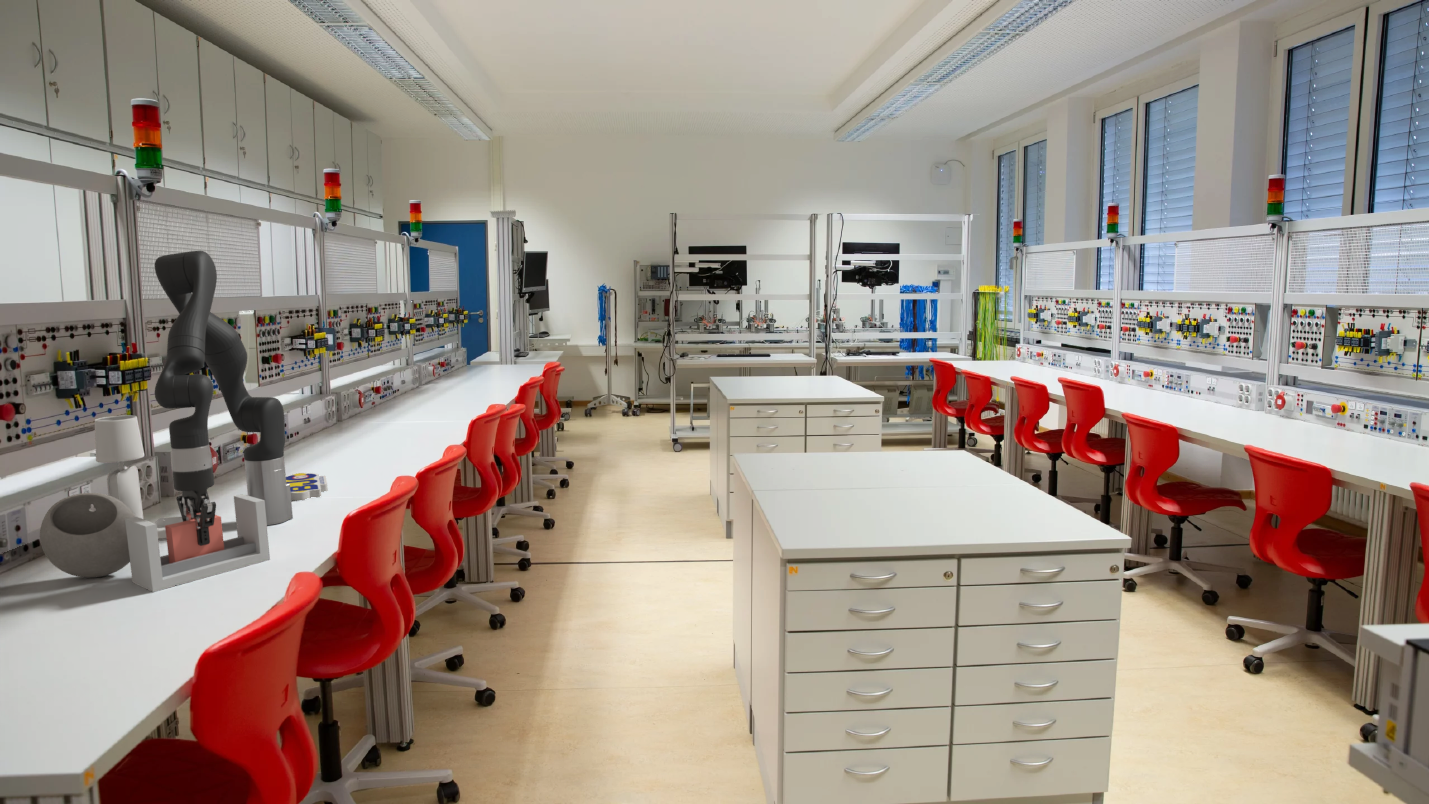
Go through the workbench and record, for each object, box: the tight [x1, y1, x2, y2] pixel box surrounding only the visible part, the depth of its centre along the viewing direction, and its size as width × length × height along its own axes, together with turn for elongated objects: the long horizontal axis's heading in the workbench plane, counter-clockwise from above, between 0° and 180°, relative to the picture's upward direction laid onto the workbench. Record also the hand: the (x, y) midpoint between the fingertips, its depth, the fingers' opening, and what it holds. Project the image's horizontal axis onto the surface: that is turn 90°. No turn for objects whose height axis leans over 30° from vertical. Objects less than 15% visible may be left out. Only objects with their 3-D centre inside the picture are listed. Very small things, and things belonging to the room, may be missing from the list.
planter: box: [39, 492, 136, 579], centre depth 180 cm, size 18×7×19 cm, turn 105°
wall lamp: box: [94, 414, 183, 540], centre depth 210 cm, size 10×21×30 cm, turn 101°
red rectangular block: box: [165, 514, 224, 564], centre depth 183 cm, size 10×3×9 cm, turn 145°
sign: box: [286, 472, 329, 501], centre depth 254 cm, size 28×3×20 cm
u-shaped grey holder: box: [125, 493, 271, 593], centre depth 184 cm, size 24×10×14 cm, turn 145°
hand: (200, 542), depth 184 cm, fingers closed on red rectangular block, 3 cm apart
